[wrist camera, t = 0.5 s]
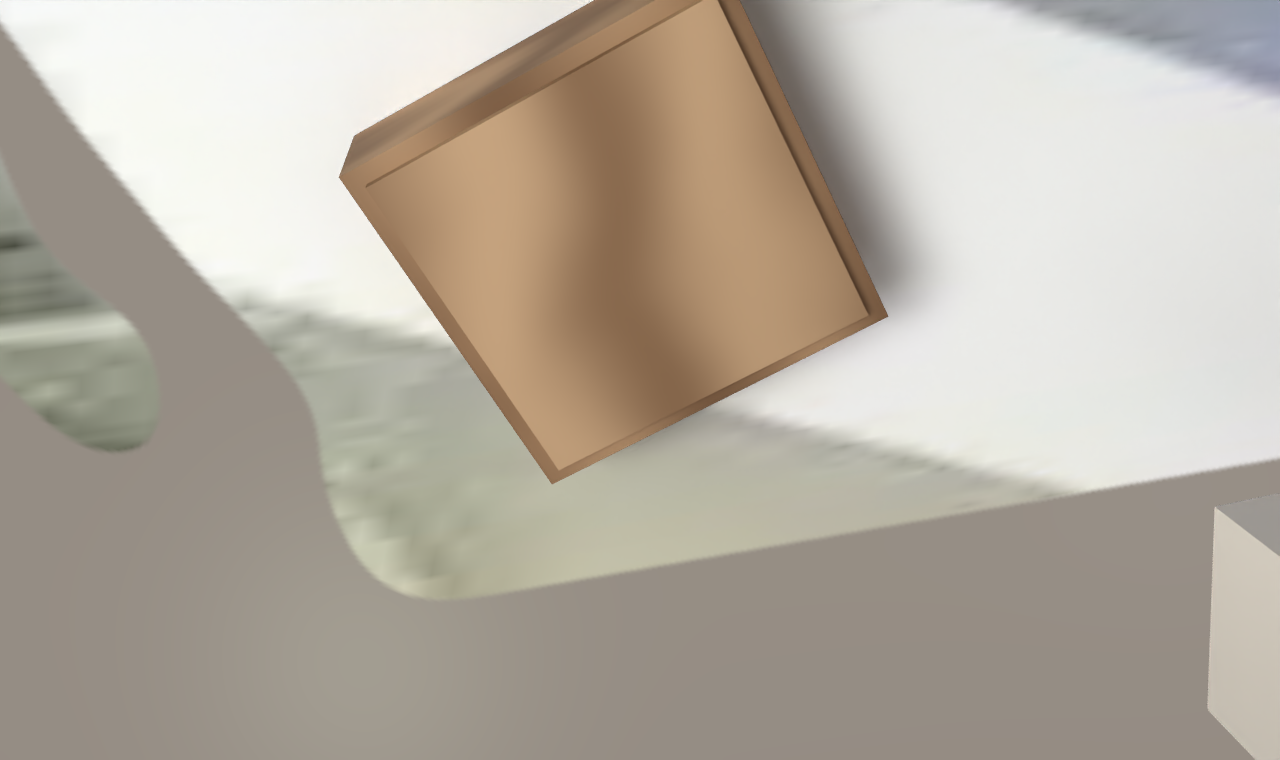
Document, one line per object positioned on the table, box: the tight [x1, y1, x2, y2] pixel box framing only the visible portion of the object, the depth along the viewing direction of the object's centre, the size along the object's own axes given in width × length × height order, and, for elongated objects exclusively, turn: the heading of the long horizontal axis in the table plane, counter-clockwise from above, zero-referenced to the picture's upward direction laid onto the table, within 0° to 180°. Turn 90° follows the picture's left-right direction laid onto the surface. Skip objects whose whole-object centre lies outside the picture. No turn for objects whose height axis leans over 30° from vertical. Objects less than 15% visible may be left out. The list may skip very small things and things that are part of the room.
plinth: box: [339, 0, 888, 484], centre depth 34 cm, size 11×11×4 cm
